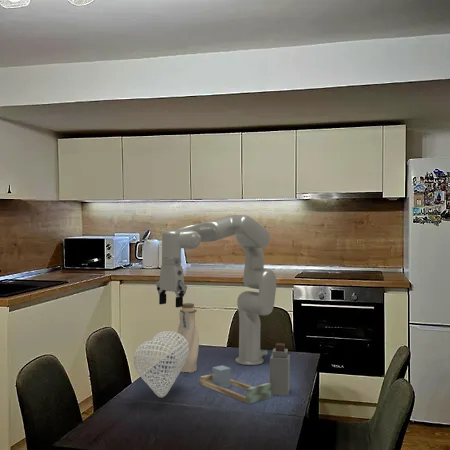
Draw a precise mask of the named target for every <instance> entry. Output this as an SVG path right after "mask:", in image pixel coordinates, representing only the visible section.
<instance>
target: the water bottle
mask: <svg viewBox="0 0 450 450" xmlns="http://www.w3.org/2000/svg"><path fill="white" fill-rule="evenodd" d="M196 313H197V309H196V308H195V304H194V303H191V302H189V303H188V302H186V303H184V302H183V306H182V307H181V309H180V310H179V313H178V314H179V324H178V327H177V333H179V334H181V335H182V336H183V337H184V338H185V339H186V340H187V342H188V344H189V355H188V358H187V360H186V359H185V360H186V363H185V364H184V366H183V368H182V370H181V371H180V373H184V372H189V374H190V373H194V371H195V372H196V371H197V361H198V356H199V350H200V349H199V343H200V339H199V338H200V337H199V331H198V328H197V325H196ZM177 338H178V339H179V337H178V336H177ZM181 339H182V338H181ZM183 341H184V340H183ZM187 342H186V343H187ZM178 343H179V344H180V342H179V341H178ZM181 343H182V341H181ZM183 346H184V343H183ZM181 348H182V346H181ZM186 348H187V346H186ZM179 349H180V347H179ZM179 349H178V350H179ZM184 349H185V348H184ZM184 349H183V351H184ZM180 350H181V349H180ZM185 351H186V349H185ZM183 353H184V352H183ZM187 353H188V351H187ZM181 354H182V352H181ZM181 354H180V356H181ZM184 357H185V356H184ZM182 359H183V357H182ZM180 367H181V366H180Z"/></svg>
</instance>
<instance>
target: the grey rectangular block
mask: <svg viewBox="0 0 450 450" xmlns="http://www.w3.org/2000/svg"><path fill="white" fill-rule="evenodd" d="M231 369H232V368H231V367H228V366H226V365H218V366H213V367H212V373H211V374H212V384H215V385H218V386H220V387H223V388H225V389H227V388H228V387H229V388H230V387H231V379H232V378H231V375H232V374H231V373H232V370H231Z"/></svg>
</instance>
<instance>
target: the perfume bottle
mask: <svg viewBox="0 0 450 450" xmlns="http://www.w3.org/2000/svg"><path fill="white" fill-rule="evenodd" d="M274 345H275V348H273V349H272V352H271V355H270V357H269V383H271V396H273V395H274V396H283V397H284V396H285V397H289V394H290V383H291V382H290V381H291V379H290V377H291V376H290V374H291V373H290V371H291V367H290V366H291V355H290V354H288V352H289V351H288V350H289V349H288V348H285V345H286V343H284V342H283V343H281V342H276V343H275V344H274Z"/></svg>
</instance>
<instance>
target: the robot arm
mask: <svg viewBox="0 0 450 450" xmlns="http://www.w3.org/2000/svg"><path fill="white" fill-rule="evenodd" d="M232 236H235V237H236V242H237V243H238V244H239V246H240V247H241V248H242V250H243V252H244V256H245V258H244V268H243V269H244V270H243V276H242V279H243V284H244V286H245V287H246V288H250V289H254V290H258V291H253V290H252V291H251V290H246V291H243V292H241V293H240V294H239V295H238V297H237V301H236V303H237V309H238V317H239V318H238V320H239V322H238V323H239V324H238V326H239V328H238V329H239V330H238V331H239V332H238V333H239V335H238V337H239V338H238V357H236V358H235V363H236V364H240V365H242V366H243V365H245V366H257V365H261V364H263V363H264V358H263V356H267V355H268V350H261V328H262V327H261V325H262V324H261V318H260V316H268V315H270V314H271V313H272V312H273V309H274V307H275V301H276V300H275V299H276V293H277V292H276V291H277V276H276V274H275V271H273V270H272V269H270V268H265V254H264V251H263V249H262V248H266V247H267V246H268V245H269V244H270V241H271V235H270V232H269V230H268V229H267V228H265V227H264V226H263V225H262V224H260V223H259V222H258V221H256V220H255V219H254V218H253V217H250V216H249V215H246V214H233V215H227V216H224V217H221V218H216V219H213V220H210V221H205V222H201V223H195V224H192V225H187V226H182V227H180V228H177V229H174V230H164V231H163V232H162V234H161V266H160V269H159V270H160V271H159V280H158V281H155V285H156V290H157V292H158V300H159V301H158V303H159V305H166V304H167V293H166V292H173V293H175V295H176V296H175V308H182V306H183V304H184V301H183V300H184V298H183V297H185V294H186V292H187V289H188V286H187V285H186V283H185V278H184V277H185V276H184V268H183V266H182V249H185V250H192V249H196V248H198V247H199V246H200V244H201V243H202V242H205V243H207V242H208V243H209V242H216V241H219V240H222V239H225V238H228V237H232Z"/></svg>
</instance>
